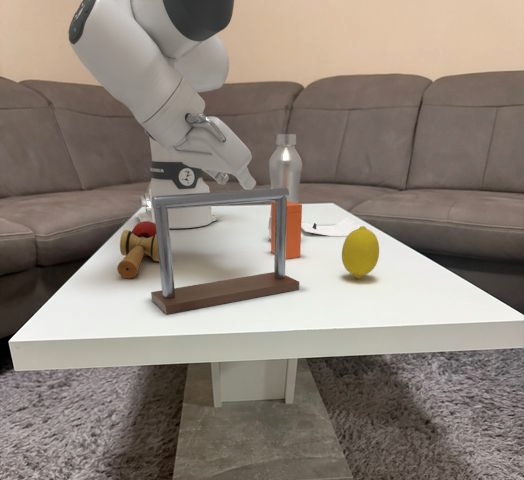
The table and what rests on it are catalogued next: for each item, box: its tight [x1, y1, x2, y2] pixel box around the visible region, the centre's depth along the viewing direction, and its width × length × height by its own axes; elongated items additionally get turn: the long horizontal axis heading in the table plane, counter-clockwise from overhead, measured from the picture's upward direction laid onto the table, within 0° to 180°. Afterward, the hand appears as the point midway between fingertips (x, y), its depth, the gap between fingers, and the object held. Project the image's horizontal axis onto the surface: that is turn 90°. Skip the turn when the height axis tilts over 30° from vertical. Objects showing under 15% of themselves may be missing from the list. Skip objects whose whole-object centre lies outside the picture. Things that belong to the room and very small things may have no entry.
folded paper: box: [301, 216, 362, 237], centre depth 103 cm, size 12×12×2 cm
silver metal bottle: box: [267, 133, 303, 237], centre depth 90 cm, size 6×7×20 cm
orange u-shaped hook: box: [270, 201, 303, 260], centre depth 82 cm, size 5×3×9 cm, turn 30°
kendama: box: [117, 221, 159, 280], centre depth 77 cm, size 8×6×18 cm
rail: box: [150, 187, 300, 315], centre depth 61 cm, size 6×20×14 cm, turn 120°
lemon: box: [341, 225, 380, 279], centre depth 69 cm, size 6×6×8 cm
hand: (237, 184), depth 74 cm, fingers open, 8 cm apart
